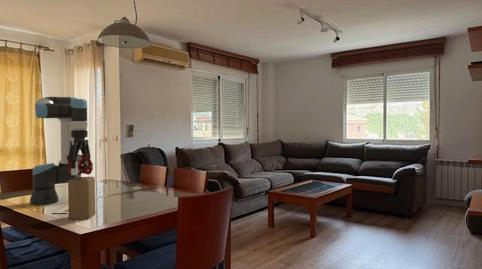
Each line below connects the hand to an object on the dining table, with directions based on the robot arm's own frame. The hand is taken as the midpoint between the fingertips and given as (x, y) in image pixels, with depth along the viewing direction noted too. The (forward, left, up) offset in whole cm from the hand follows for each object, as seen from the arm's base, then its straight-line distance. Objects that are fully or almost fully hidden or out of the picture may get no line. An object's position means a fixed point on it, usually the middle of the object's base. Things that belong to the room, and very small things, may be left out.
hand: (80, 173), depth 170 cm
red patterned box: (0, 0, -1) cm, 1 cm away
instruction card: (-13, +16, -22) cm, 30 cm away
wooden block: (+1, 0, -23) cm, 23 cm away
